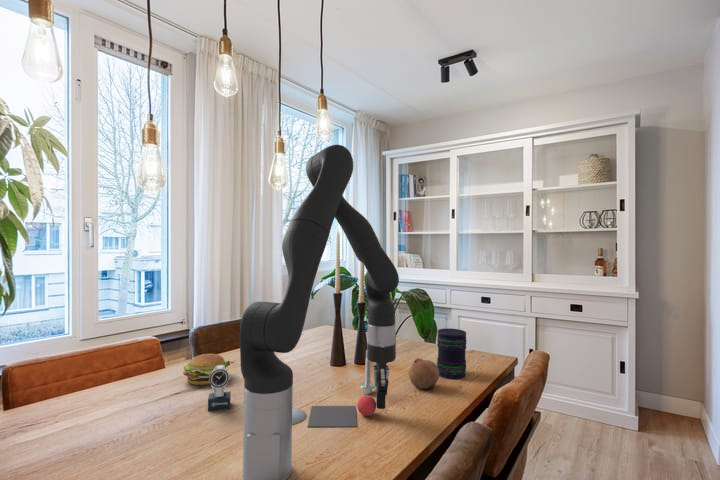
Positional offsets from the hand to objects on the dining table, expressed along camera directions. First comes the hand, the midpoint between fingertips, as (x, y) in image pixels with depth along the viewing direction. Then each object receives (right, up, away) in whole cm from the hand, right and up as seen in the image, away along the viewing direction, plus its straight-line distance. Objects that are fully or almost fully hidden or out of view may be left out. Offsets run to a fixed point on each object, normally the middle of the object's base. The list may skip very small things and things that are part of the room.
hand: (380, 407), depth 102 cm
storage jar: (+26, -3, +33) cm, 42 cm away
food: (-56, -2, +25) cm, 61 cm away
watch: (-44, -2, +4) cm, 44 cm away
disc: (-24, -2, -1) cm, 25 cm away
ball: (-4, 0, +1) cm, 4 cm away
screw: (-3, -3, +16) cm, 17 cm away
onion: (+15, -3, +21) cm, 26 cm away
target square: (-12, -2, 0) cm, 13 cm away
